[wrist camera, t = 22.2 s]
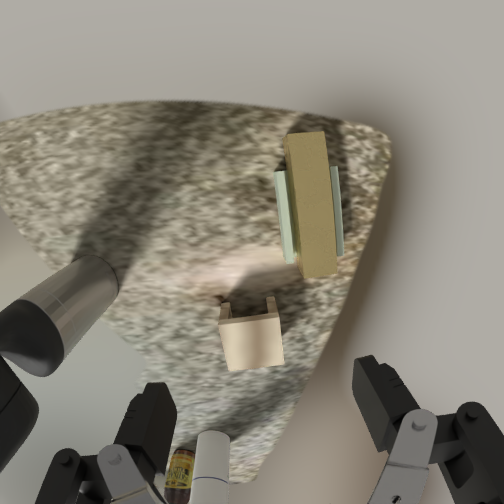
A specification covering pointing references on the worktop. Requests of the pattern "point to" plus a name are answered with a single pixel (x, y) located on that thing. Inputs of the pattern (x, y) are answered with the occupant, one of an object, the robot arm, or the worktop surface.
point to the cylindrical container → (211, 469)
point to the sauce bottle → (179, 477)
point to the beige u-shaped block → (251, 338)
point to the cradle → (287, 217)
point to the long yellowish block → (311, 203)
